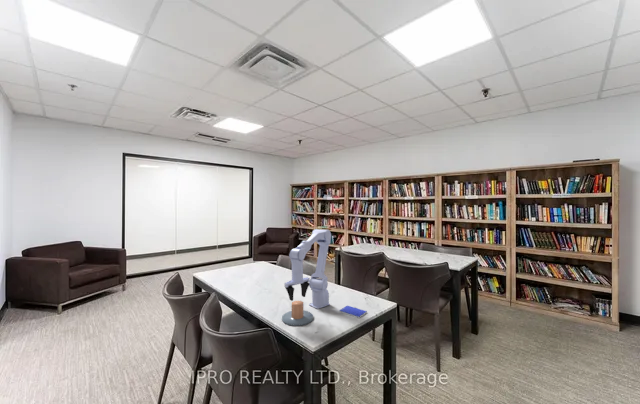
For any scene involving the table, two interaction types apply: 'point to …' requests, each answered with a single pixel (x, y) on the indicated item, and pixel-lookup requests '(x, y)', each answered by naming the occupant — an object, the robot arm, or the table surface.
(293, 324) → the lid
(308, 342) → the table surface
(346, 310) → the hard drive
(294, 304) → the tan piece
